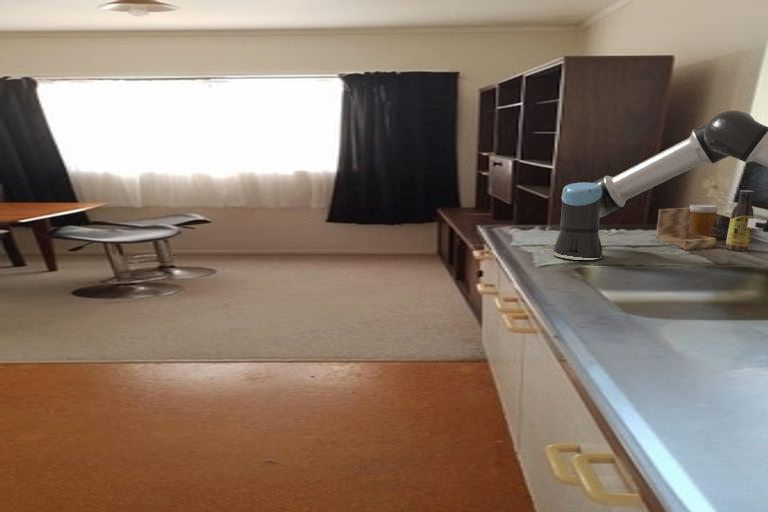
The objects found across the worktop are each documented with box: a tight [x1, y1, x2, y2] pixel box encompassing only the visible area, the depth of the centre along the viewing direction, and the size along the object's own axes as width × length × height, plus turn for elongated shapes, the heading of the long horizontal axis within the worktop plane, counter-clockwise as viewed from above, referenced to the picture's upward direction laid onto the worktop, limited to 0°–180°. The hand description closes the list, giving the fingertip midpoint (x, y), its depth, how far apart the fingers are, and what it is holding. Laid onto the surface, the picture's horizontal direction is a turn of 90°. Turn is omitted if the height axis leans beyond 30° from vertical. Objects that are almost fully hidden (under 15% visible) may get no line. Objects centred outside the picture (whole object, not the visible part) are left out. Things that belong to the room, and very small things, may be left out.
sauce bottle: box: [725, 189, 755, 252], centre depth 163 cm, size 7×6×20 cm
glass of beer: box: [688, 203, 719, 237], centre depth 186 cm, size 10×10×12 cm
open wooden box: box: [655, 207, 717, 250], centre depth 174 cm, size 13×13×12 cm
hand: (766, 221), depth 155 cm, fingers open, 13 cm apart
